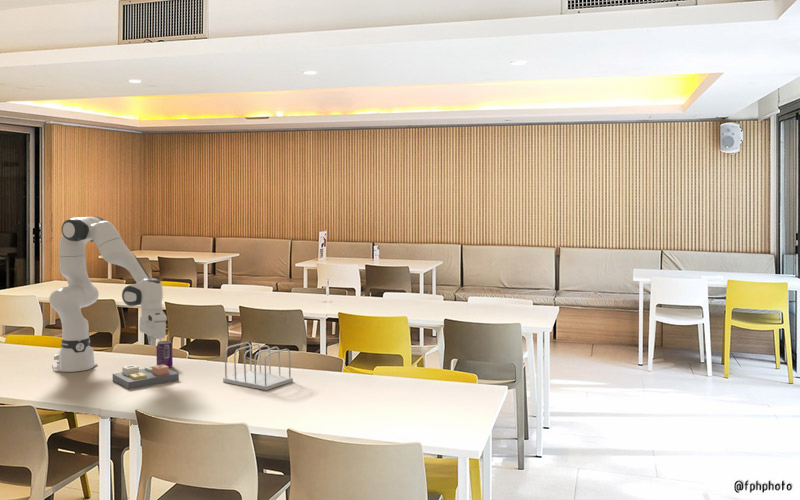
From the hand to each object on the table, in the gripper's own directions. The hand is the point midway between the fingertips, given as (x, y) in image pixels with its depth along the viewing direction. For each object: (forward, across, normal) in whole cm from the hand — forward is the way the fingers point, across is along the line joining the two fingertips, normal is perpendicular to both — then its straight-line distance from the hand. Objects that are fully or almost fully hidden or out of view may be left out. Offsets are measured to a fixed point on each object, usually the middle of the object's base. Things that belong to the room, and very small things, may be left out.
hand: (151, 345), depth 302 cm
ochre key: (+13, +9, -10) cm, 19 cm away
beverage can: (+15, -12, +11) cm, 22 cm away
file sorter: (+13, +39, +31) cm, 52 cm away
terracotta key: (+11, +9, 0) cm, 14 cm away
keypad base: (+14, +5, -5) cm, 16 cm away
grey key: (+12, +1, -10) cm, 15 cm away
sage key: (+13, +1, 0) cm, 13 cm away
